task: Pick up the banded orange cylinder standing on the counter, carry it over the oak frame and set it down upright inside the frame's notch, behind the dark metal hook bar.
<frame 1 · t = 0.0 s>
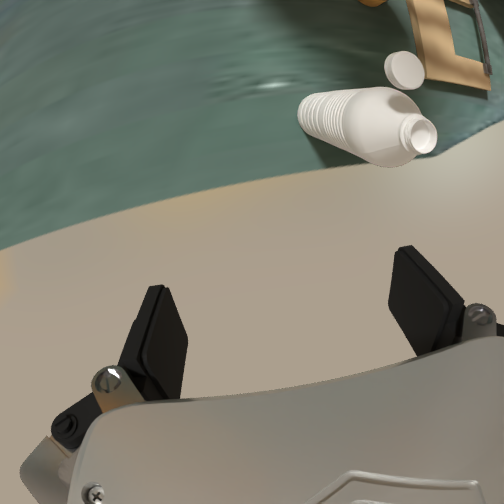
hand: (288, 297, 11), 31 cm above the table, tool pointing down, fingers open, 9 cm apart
oak frame: (446, 25, 27), on the table
water bottle: (316, 108, 36), on the table
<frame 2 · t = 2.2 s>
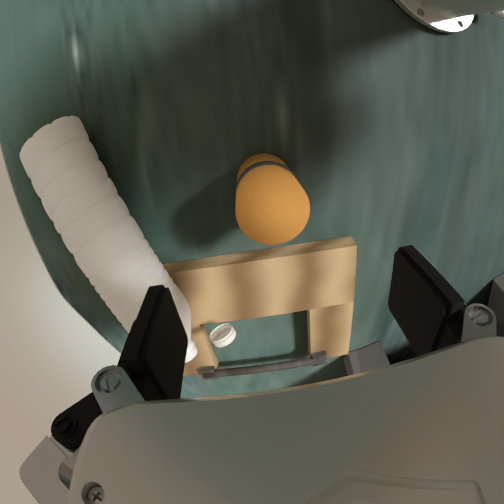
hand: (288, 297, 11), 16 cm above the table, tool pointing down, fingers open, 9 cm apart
oak frame: (254, 312, 33), on the table
water bottle: (56, 127, 19), point 3 cm above the table, touching oak frame
banded orange cylinder: (263, 179, 25), on the table
transformer: (436, 366, 43), on the table
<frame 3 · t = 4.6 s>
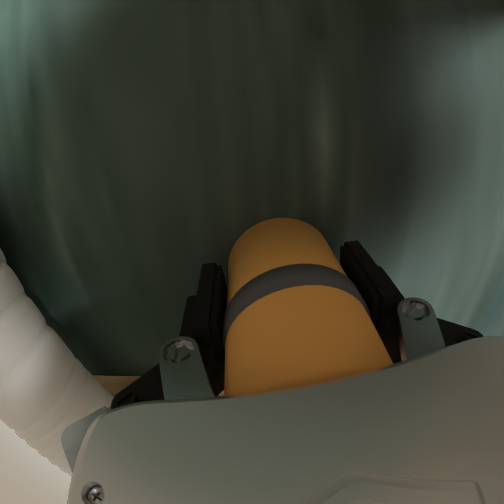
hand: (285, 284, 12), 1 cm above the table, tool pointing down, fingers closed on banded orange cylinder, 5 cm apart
oak frame: (259, 425, 21), on the table
banded orange cylinder: (280, 266, 13), on the table, touching gripper
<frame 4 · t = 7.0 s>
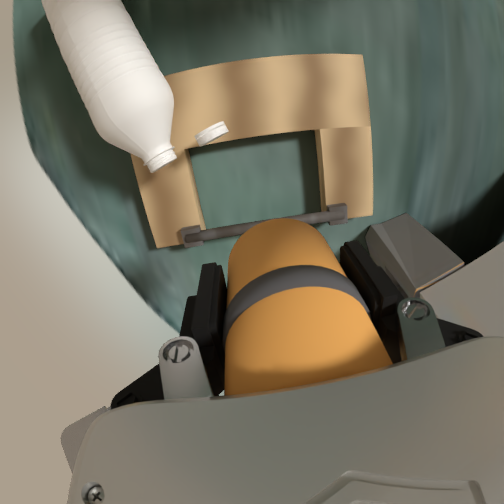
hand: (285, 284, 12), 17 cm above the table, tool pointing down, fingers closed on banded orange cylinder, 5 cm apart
oak frame: (252, 144, 26), on the table
banded orange cylinder: (280, 267, 13), point 16 cm above the table, touching gripper
transformer: (469, 279, 36), on the table
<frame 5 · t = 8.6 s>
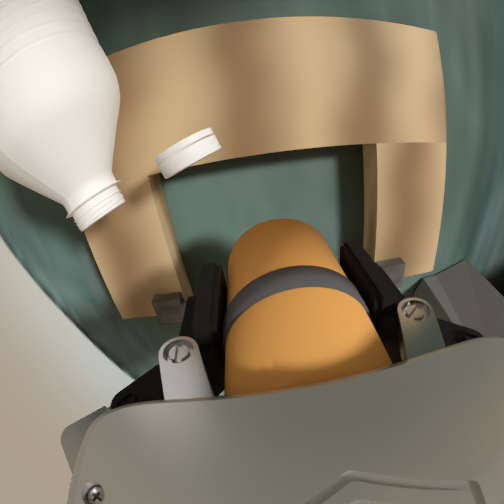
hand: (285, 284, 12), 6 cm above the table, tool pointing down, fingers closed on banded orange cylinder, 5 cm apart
oak frame: (263, 164, 16), on the table
banded orange cylinder: (280, 267, 13), point 5 cm above the table, touching gripper
when the fingers open (4 cm above the table, at t = 9.8 s): banded orange cylinder drops 3 cm, on the table.
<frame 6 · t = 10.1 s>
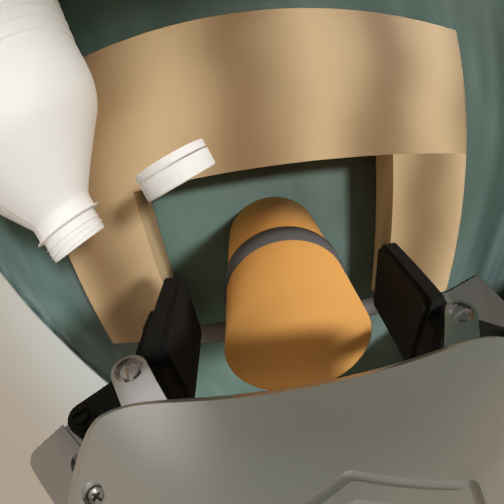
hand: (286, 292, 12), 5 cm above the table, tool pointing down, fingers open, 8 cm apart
oak frame: (265, 177, 14), on the table
banded orange cylinder: (273, 239, 16), on the table
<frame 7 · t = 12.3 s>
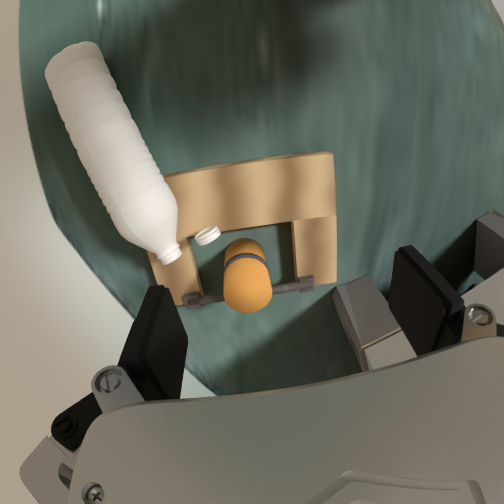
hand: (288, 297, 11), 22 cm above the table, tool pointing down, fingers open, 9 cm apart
oak frame: (240, 230, 34), on the table
water bottle: (79, 52, 20), point 3 cm above the table, touching oak frame
banded orange cylinder: (244, 256, 36), on the table
transformer: (430, 319, 44), on the table
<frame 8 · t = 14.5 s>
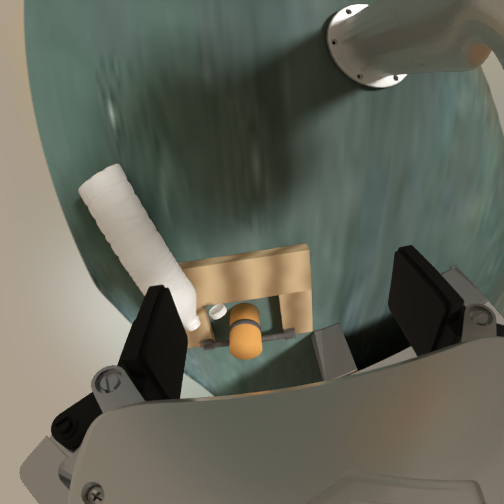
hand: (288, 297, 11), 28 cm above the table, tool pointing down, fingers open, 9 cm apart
oak frame: (240, 298, 46), on the table
water bottle: (103, 170, 32), point 3 cm above the table, touching oak frame
banded orange cylinder: (244, 314, 48), on the table
transformer: (396, 349, 56), on the table
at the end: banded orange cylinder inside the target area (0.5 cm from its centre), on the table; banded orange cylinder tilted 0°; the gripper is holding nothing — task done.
